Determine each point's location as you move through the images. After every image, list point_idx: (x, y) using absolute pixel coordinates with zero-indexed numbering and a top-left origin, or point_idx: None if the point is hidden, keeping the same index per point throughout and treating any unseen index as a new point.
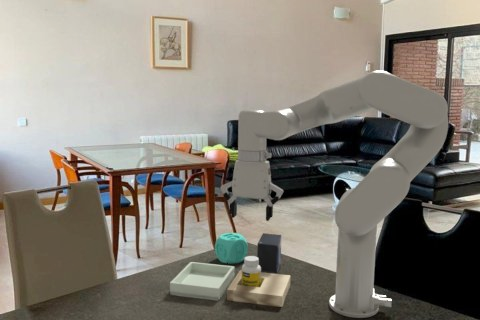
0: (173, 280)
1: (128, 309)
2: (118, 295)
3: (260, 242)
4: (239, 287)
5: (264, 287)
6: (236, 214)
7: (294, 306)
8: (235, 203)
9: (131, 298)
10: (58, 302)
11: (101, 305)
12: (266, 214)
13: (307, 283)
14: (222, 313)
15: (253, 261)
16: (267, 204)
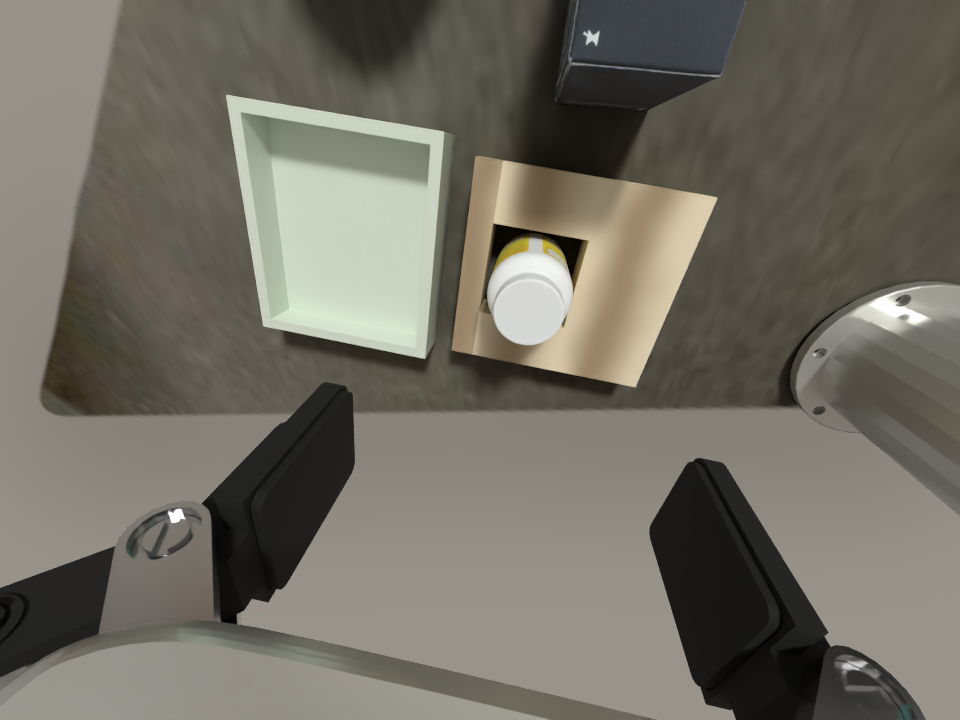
0: (264, 308)
1: (238, 390)
2: (164, 323)
3: (592, 36)
4: (490, 332)
5: (580, 327)
6: (349, 395)
7: (668, 362)
8: (275, 547)
9: (206, 337)
10: (74, 364)
11: (169, 374)
12: (671, 590)
13: (790, 160)
14: (459, 403)
15: (538, 343)
16: (735, 716)
